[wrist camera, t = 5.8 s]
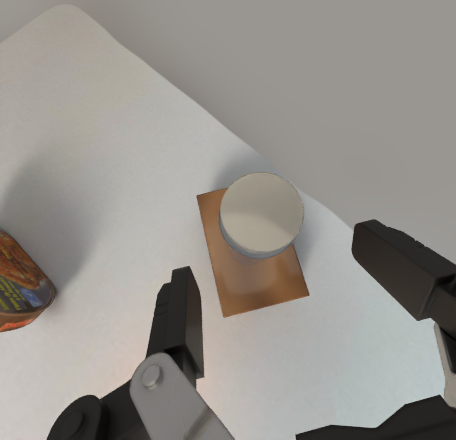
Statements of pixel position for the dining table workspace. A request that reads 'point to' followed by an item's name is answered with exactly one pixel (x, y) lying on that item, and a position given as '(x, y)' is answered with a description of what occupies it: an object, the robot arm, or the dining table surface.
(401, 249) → the robot arm
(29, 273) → the tin
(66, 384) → the dining table surface
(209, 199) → the shelf
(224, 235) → the cylinder
